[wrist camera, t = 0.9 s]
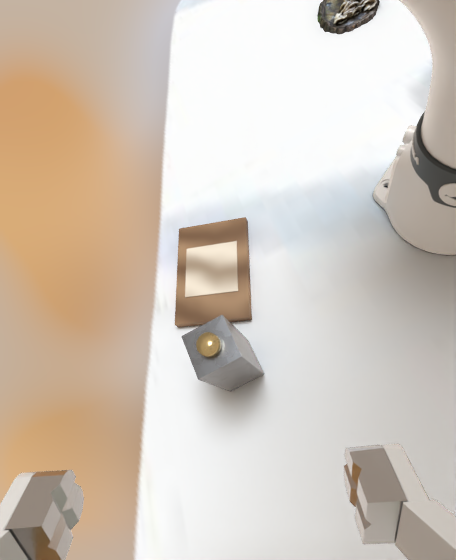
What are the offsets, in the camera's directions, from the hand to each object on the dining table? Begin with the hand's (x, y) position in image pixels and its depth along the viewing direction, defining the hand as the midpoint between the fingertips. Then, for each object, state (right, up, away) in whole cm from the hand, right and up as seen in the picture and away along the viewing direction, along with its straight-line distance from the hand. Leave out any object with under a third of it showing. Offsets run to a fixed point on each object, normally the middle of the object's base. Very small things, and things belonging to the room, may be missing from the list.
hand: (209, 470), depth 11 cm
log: (+23, +56, +57) cm, 84 cm away
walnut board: (-2, +7, +43) cm, 44 cm away
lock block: (+2, -6, +37) cm, 38 cm away
